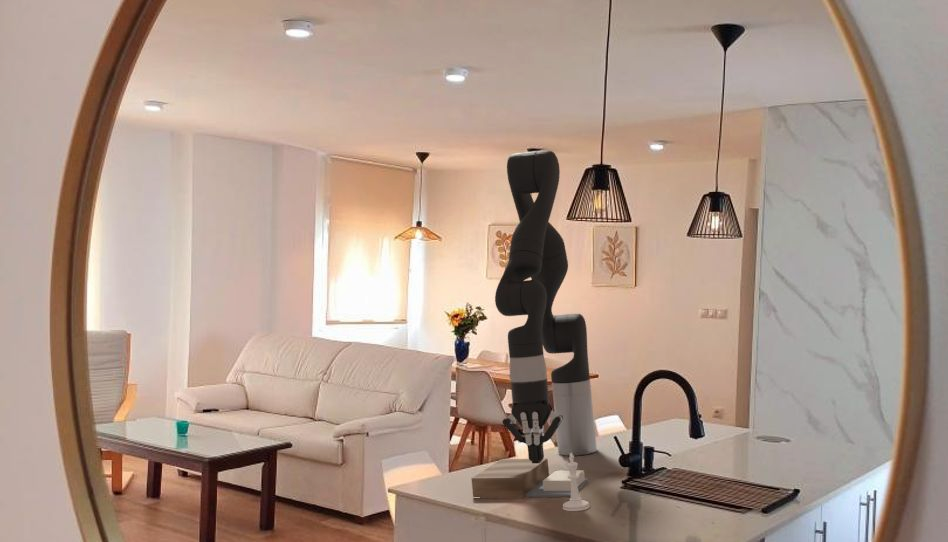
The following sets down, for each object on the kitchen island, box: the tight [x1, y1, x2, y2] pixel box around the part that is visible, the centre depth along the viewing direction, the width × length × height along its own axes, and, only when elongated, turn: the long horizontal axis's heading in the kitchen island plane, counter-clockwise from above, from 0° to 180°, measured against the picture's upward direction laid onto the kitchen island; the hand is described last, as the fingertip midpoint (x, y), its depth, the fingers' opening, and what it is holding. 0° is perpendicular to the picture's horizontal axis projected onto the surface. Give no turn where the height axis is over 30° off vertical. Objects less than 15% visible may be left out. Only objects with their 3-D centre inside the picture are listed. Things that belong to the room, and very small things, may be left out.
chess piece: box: [562, 453, 591, 512], centre depth 165 cm, size 5×5×10 cm
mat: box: [524, 477, 590, 498], centre depth 181 cm, size 14×10×1 cm
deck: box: [471, 457, 550, 499], centre depth 186 cm, size 18×10×4 cm, turn 159°
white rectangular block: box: [543, 469, 586, 491], centre depth 181 cm, size 9×6×2 cm, turn 158°
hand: (536, 462), depth 184 cm, fingers closed
